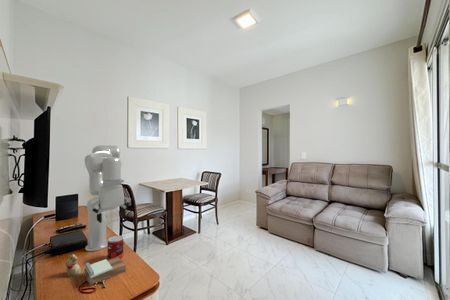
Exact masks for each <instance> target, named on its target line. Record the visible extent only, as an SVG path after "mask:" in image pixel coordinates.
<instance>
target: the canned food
mask: <svg viewBox="0 0 450 300" xmlns="http://www.w3.org/2000/svg"><path fill="white" fill-rule="evenodd" d="M107 241H108V246H107V260H109V259H112V258H115V257H119V258H120V259H122V258H123V256H124V236H123V235H114V236H111V237H109V238H108V239H107Z"/></svg>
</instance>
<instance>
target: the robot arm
mask: <svg viewBox="0 0 450 300" xmlns="http://www.w3.org/2000/svg"><path fill="white" fill-rule="evenodd" d="M120 150H121V149H120V148H119V146H118V145H111V144H110V145H103V144H102V145H96V146H95V147H93V148H92V150H91V153H90V154H87V155H86V156H85V157H84V165H85V168H86V171H87V172H88V175H89V176H88V179H89V180H88V181H89V183H88V184H89V185H88V186H89V193H90V195H91V196H98V197H93V198H91V199H89V200H88V201H87V202H86V209H87V214H88V215H87V217H88V242H87V243H88V244H87V245H85V248H84V249H85V251H87V252H96V251H100V250H102V249H105V248H108V240H107V216H106V215H105V214H103V212H108V211H113V210H117V209H118V207H121V208H120V217H121V218H125V215H126V209H127V207H128V206H129V205H130V203H131V201H132V198H130V197H127V196H125V193H124V188H123V185H122V184H123V183H124V182H125V181H124V179H122V178H121V176H122V174H121V173H122V161H121V158H120V155H121V151H120ZM125 200H126V202H125Z"/></svg>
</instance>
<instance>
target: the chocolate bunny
mask: <svg viewBox="0 0 450 300" xmlns="http://www.w3.org/2000/svg"><path fill="white" fill-rule="evenodd" d="M77 259H78V257H77V256H76V255H75V254H74V253H73V254H71V256H70V257H69V258H68V259H66V261H65V266H66V270H65V272H67V273H66V275H67V276H68V277H72V278H75V277H79V276H82V272H83V271H82V267H81V266H80V265H79V264H78V263H77Z"/></svg>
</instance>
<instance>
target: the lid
mask: <svg viewBox="0 0 450 300" xmlns="http://www.w3.org/2000/svg"><path fill="white" fill-rule="evenodd" d="M107 260H108V259H106V258H105V259H103V260H99V261H97V262H93V263H92V264H90V262H86V263H85V268H86V270H87V272H88V274H89V276H90V278H92V277H95V276H97V275H100V274H102V273H105V272H107V271H110V270H112V266H111V265H110V264H109V262H108V261H107Z"/></svg>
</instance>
